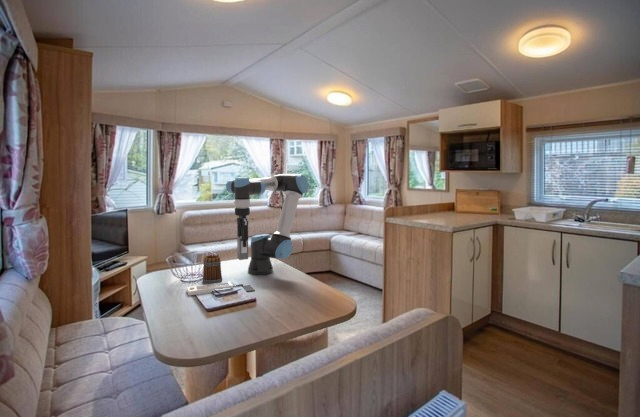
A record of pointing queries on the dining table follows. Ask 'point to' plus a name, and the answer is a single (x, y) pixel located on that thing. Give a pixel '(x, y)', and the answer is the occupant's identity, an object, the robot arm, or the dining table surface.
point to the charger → (240, 255)
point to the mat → (248, 288)
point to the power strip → (208, 288)
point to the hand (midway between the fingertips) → (242, 251)
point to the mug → (212, 269)
